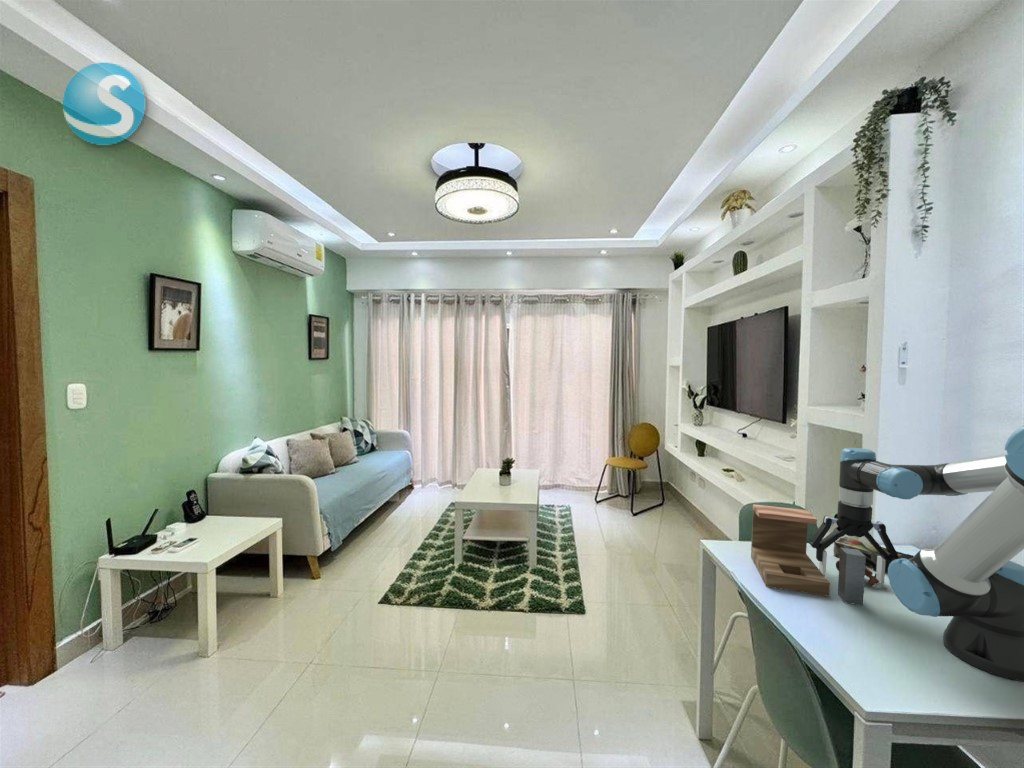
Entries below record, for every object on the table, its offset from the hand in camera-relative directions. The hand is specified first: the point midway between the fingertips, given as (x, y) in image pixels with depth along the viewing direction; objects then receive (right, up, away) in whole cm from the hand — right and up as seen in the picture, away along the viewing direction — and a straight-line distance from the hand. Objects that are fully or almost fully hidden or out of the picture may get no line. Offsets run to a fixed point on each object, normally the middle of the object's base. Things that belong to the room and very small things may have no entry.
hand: (850, 576), depth 119 cm
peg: (0, -7, 0) cm, 7 cm away
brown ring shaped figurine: (+11, -7, +12) cm, 18 cm away
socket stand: (-9, -6, +14) cm, 18 cm away
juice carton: (+25, -7, +23) cm, 35 cm away
